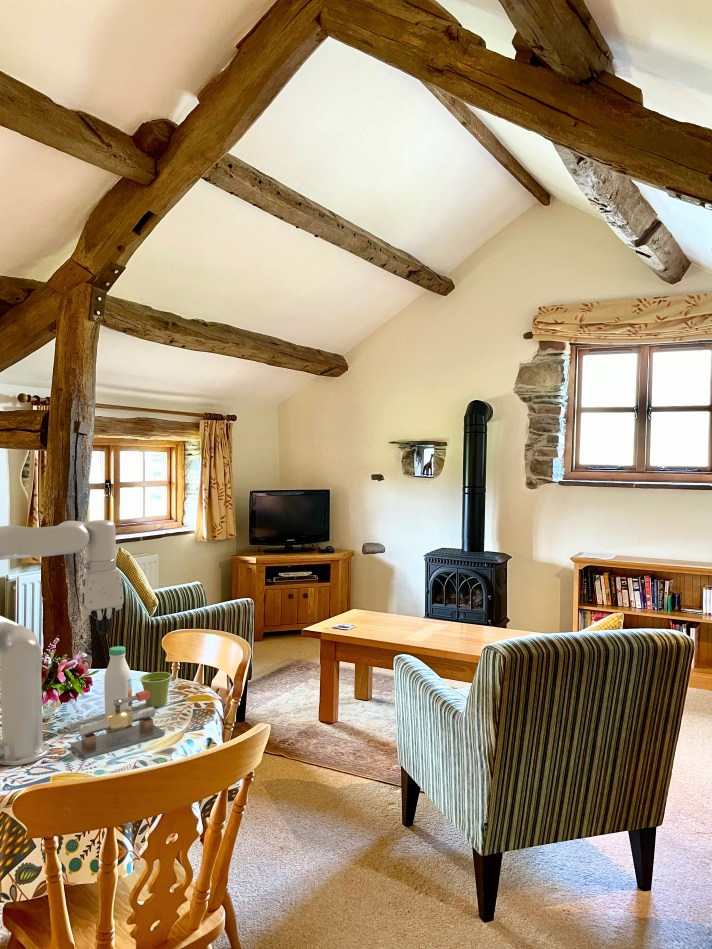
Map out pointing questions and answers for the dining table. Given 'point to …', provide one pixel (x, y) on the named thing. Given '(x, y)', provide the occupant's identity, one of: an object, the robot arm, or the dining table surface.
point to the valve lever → (133, 698)
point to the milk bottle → (117, 680)
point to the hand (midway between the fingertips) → (103, 633)
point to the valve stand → (116, 732)
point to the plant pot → (156, 687)
